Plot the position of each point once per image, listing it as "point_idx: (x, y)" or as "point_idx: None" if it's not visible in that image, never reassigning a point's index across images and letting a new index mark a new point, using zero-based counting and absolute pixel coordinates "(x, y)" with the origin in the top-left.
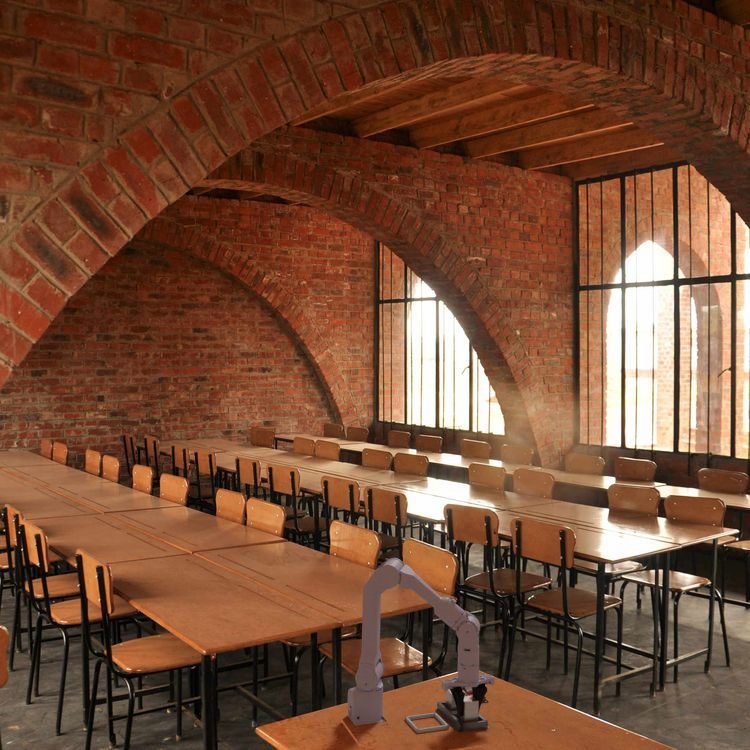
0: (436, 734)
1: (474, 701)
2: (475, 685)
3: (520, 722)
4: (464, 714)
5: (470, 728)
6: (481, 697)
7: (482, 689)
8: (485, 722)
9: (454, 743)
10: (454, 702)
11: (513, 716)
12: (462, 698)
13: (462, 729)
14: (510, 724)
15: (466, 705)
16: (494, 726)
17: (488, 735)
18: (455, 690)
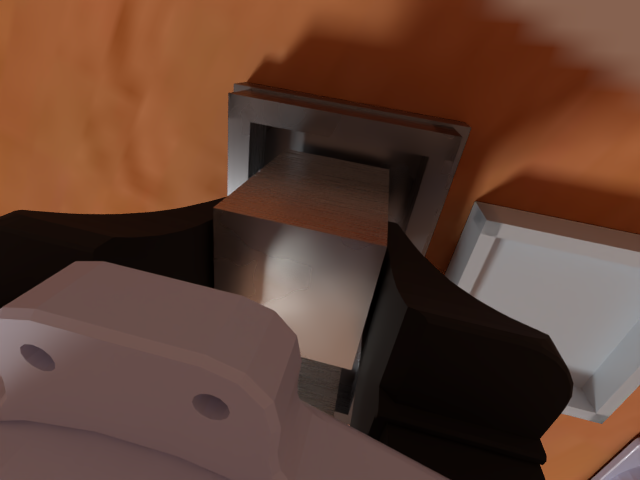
0: None
1: (263, 218)
2: (115, 295)
3: (37, 115)
4: (388, 199)
5: (377, 115)
6: (156, 220)
7: (50, 242)
8: (250, 96)
9: (573, 45)
10: (324, 371)
11: (56, 192)
12: (417, 289)
13: (442, 128)
14: (94, 120)
15: (368, 225)
16: (186, 143)
17: (275, 47)
18: (517, 446)
